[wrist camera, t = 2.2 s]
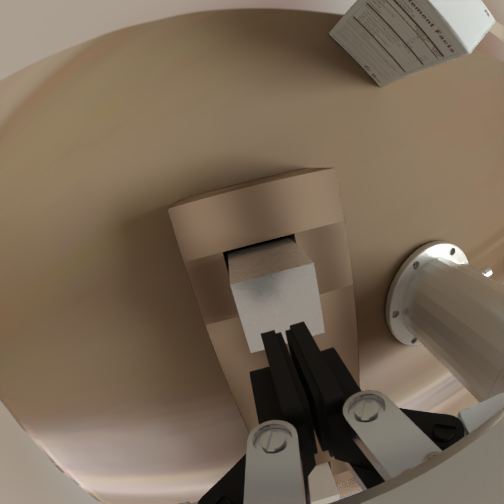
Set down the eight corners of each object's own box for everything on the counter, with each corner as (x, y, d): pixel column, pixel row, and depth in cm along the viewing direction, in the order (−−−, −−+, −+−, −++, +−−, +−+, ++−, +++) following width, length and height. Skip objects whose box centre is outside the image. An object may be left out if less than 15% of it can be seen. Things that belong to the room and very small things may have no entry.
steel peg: (289, 237, 19) (313, 262, 14) (300, 293, 21) (324, 332, 15) (227, 253, 19) (230, 284, 14) (243, 308, 20) (250, 353, 15)
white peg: (327, 459, 27) (339, 493, 22) (328, 473, 29) (339, 504, 23) (293, 469, 27) (302, 504, 22) (297, 482, 29) (306, 514, 23)
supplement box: (367, 4, 19) (434, -53, 7) (415, 56, 21) (499, 23, 9) (324, 33, 20) (389, -38, 8) (379, 90, 22) (472, 56, 10)
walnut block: (308, 167, 24) (335, 167, 18) (344, 448, 35) (356, 477, 29) (180, 199, 23) (167, 209, 18) (275, 468, 35) (281, 499, 29)
